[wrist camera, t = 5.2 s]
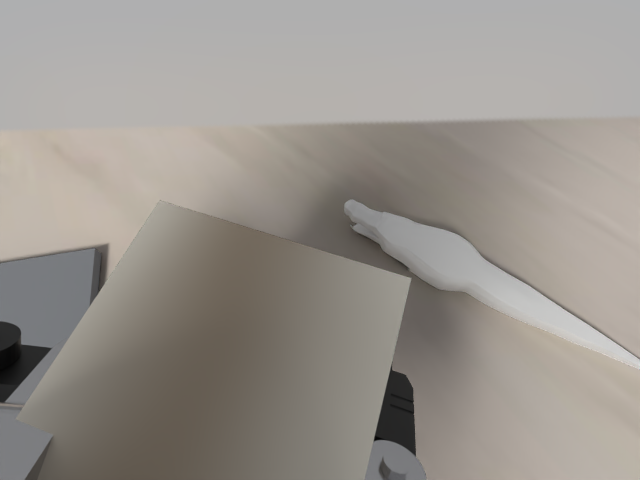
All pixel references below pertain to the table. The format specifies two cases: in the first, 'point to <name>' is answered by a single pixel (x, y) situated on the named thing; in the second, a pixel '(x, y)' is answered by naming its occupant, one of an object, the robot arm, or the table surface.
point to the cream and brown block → (222, 361)
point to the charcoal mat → (49, 294)
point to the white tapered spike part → (474, 276)
